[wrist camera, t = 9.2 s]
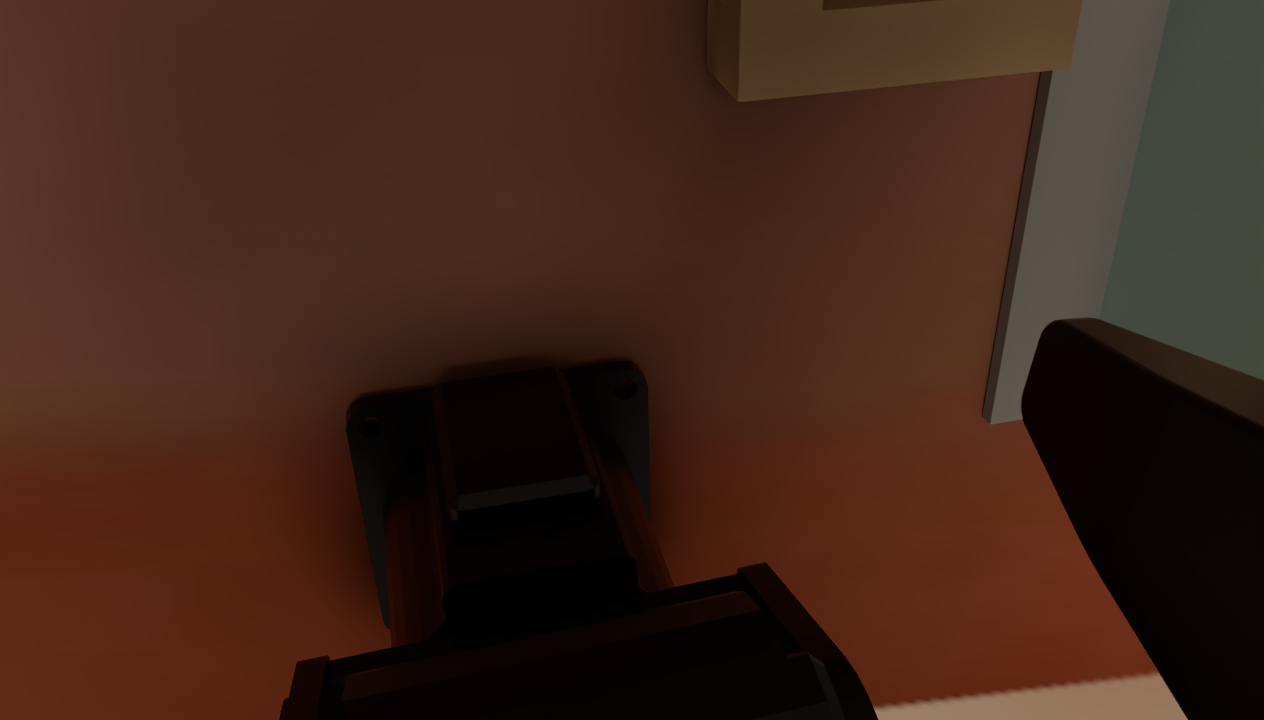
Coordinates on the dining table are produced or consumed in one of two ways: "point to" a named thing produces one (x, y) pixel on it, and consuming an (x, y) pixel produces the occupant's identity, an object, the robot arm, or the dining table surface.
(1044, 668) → the dining table surface
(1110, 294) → the panel
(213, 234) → the dining table surface
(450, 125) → the dining table surface
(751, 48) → the rack
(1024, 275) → the mat
